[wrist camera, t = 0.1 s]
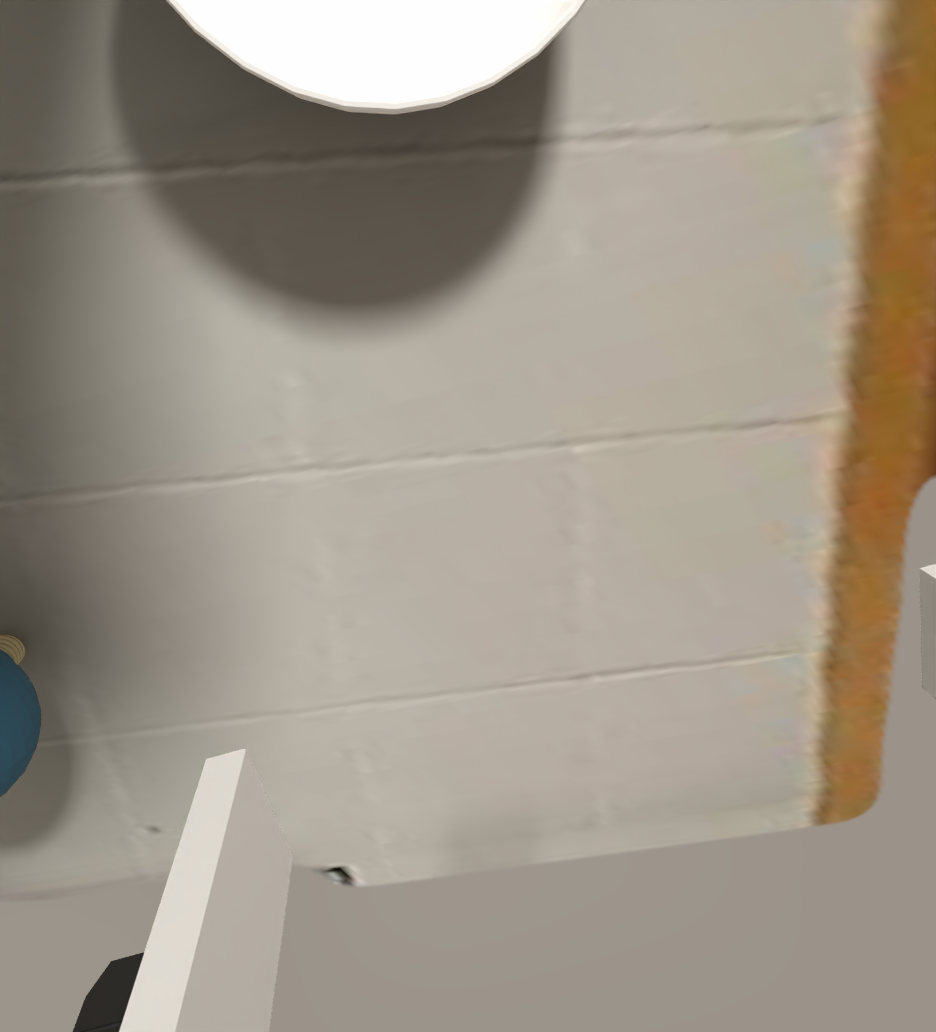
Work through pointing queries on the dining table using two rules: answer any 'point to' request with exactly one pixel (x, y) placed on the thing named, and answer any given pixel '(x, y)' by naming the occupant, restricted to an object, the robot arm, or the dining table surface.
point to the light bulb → (16, 714)
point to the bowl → (379, 45)
